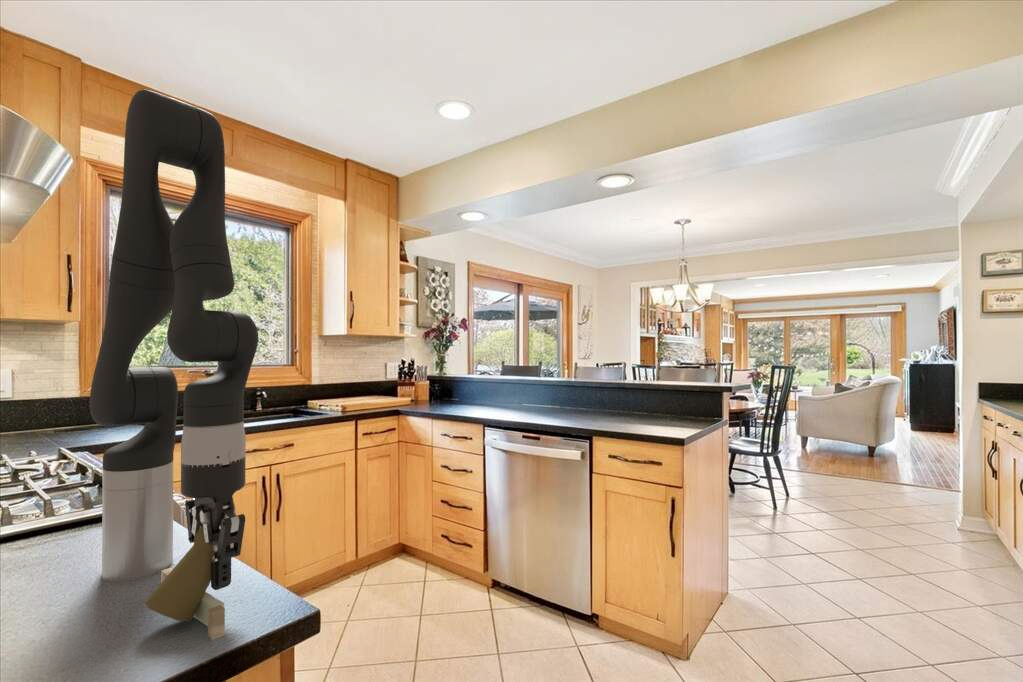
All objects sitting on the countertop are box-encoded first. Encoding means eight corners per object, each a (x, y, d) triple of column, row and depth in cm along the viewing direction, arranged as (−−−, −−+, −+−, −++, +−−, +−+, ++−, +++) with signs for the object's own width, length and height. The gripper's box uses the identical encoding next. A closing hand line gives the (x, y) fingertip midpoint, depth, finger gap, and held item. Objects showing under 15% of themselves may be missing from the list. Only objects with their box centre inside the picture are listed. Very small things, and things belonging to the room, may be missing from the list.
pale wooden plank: (160, 594, 70) (161, 570, 71) (172, 590, 72) (172, 567, 72) (212, 641, 59) (212, 613, 59) (224, 636, 60) (224, 608, 60)
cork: (182, 608, 65) (234, 529, 70) (198, 625, 62) (252, 539, 67) (138, 597, 62) (196, 513, 67) (153, 613, 58) (213, 524, 63)
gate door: (176, 604, 67) (176, 583, 67) (185, 601, 68) (185, 579, 68) (214, 631, 61) (214, 607, 61) (224, 626, 62) (224, 603, 62)
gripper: (163, 453, 67) (162, 576, 67) (204, 470, 58) (203, 611, 58) (221, 445, 73) (221, 557, 73) (267, 458, 64) (266, 586, 64)
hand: (213, 580), depth 66 cm, fingers closed on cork, 4 cm apart
